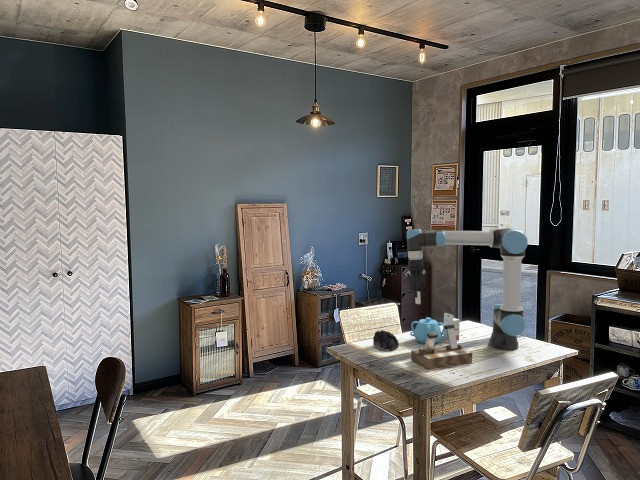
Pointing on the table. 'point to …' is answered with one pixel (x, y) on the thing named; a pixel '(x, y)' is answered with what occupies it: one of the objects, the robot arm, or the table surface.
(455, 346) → the lever
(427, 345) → the lever
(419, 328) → the decorative pot
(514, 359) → the table surface
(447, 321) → the ink cartridge box
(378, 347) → the black rock
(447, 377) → the table surface
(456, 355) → the switch unit
